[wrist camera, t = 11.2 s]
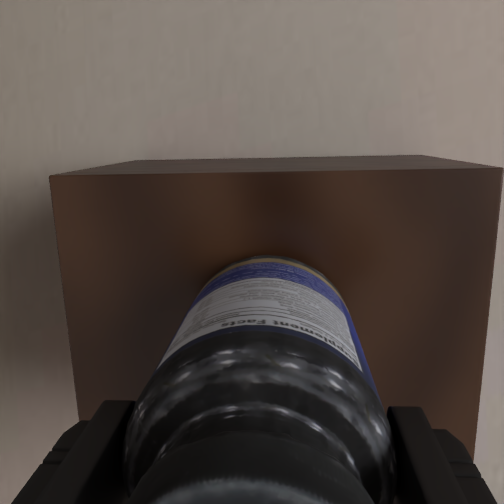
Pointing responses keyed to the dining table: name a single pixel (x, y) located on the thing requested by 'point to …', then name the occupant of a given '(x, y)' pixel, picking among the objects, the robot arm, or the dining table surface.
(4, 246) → the dining table surface
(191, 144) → the dining table surface
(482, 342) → the wooden keepsake box
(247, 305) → the pill bottle
